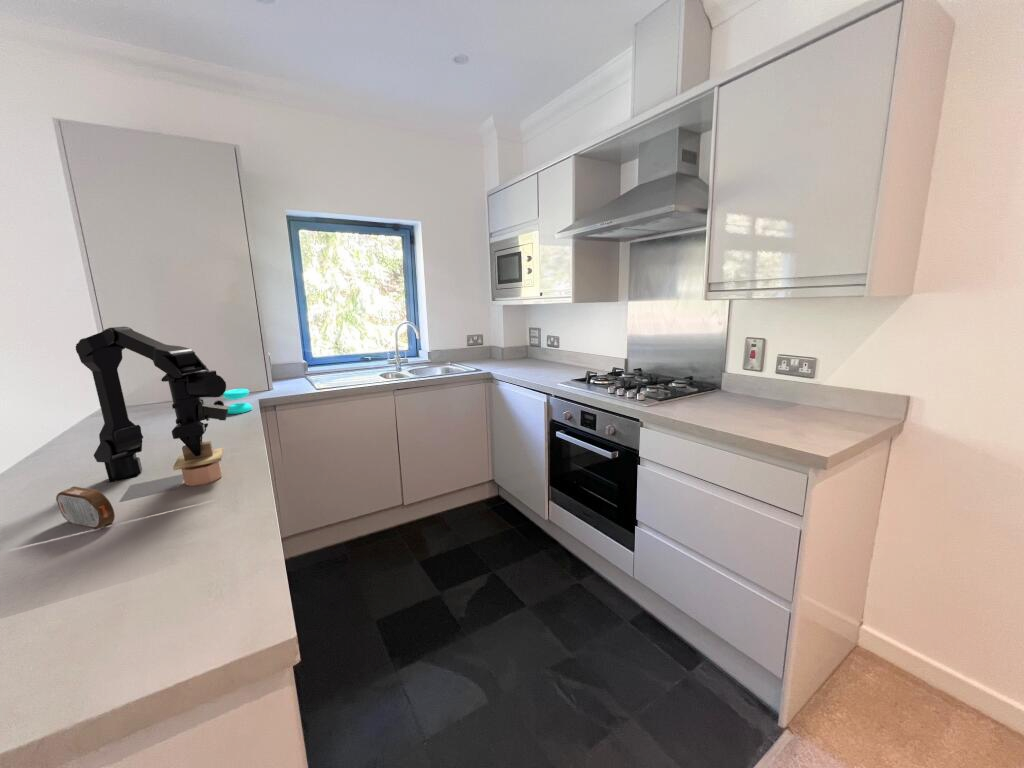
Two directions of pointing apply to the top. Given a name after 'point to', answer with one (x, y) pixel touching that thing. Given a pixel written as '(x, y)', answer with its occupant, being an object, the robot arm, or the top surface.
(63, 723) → the top surface
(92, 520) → the tin
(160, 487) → the mat
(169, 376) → the robot arm
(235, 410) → the pair of cyan discs
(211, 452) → the lid
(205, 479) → the bowl
